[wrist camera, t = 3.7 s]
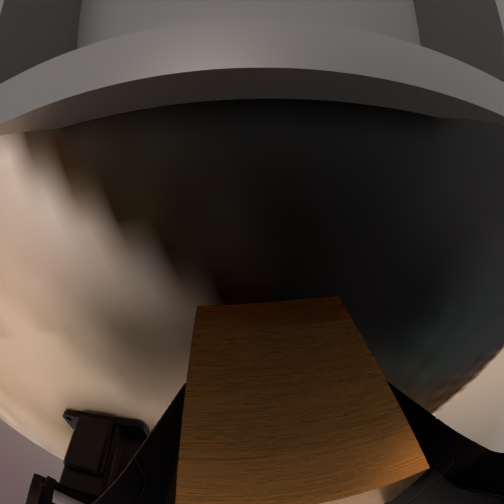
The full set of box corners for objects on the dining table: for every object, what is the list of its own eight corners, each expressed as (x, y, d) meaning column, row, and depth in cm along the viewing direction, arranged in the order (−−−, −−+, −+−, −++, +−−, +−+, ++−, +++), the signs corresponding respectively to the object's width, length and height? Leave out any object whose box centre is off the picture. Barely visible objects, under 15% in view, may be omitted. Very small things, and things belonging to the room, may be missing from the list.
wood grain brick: (320, 397, 12) (357, 524, 6) (216, 407, 12) (217, 543, 6) (338, 295, 10) (429, 467, 4) (197, 306, 10) (174, 511, 3)
